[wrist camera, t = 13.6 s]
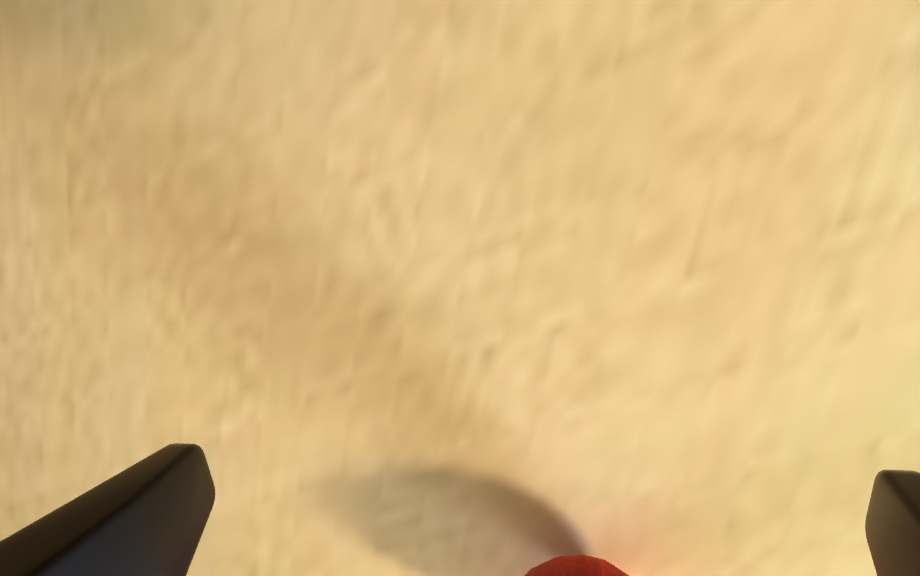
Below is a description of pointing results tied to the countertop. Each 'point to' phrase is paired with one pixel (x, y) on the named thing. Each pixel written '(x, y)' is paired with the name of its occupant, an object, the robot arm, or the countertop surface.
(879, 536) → the robot arm
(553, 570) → the onion
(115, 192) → the countertop surface
